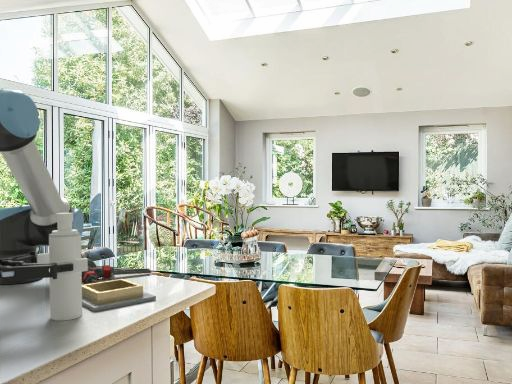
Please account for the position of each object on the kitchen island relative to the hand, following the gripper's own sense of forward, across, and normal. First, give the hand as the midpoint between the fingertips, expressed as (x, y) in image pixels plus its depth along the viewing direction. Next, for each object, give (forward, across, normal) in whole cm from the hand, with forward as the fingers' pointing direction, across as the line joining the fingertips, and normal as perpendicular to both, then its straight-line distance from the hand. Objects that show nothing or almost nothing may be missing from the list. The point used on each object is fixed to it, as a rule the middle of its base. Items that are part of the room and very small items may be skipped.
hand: (76, 260), depth 105 cm
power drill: (+22, -32, -13) cm, 41 cm away
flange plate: (+12, -8, -12) cm, 19 cm away
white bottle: (-2, 0, -13) cm, 13 cm away
